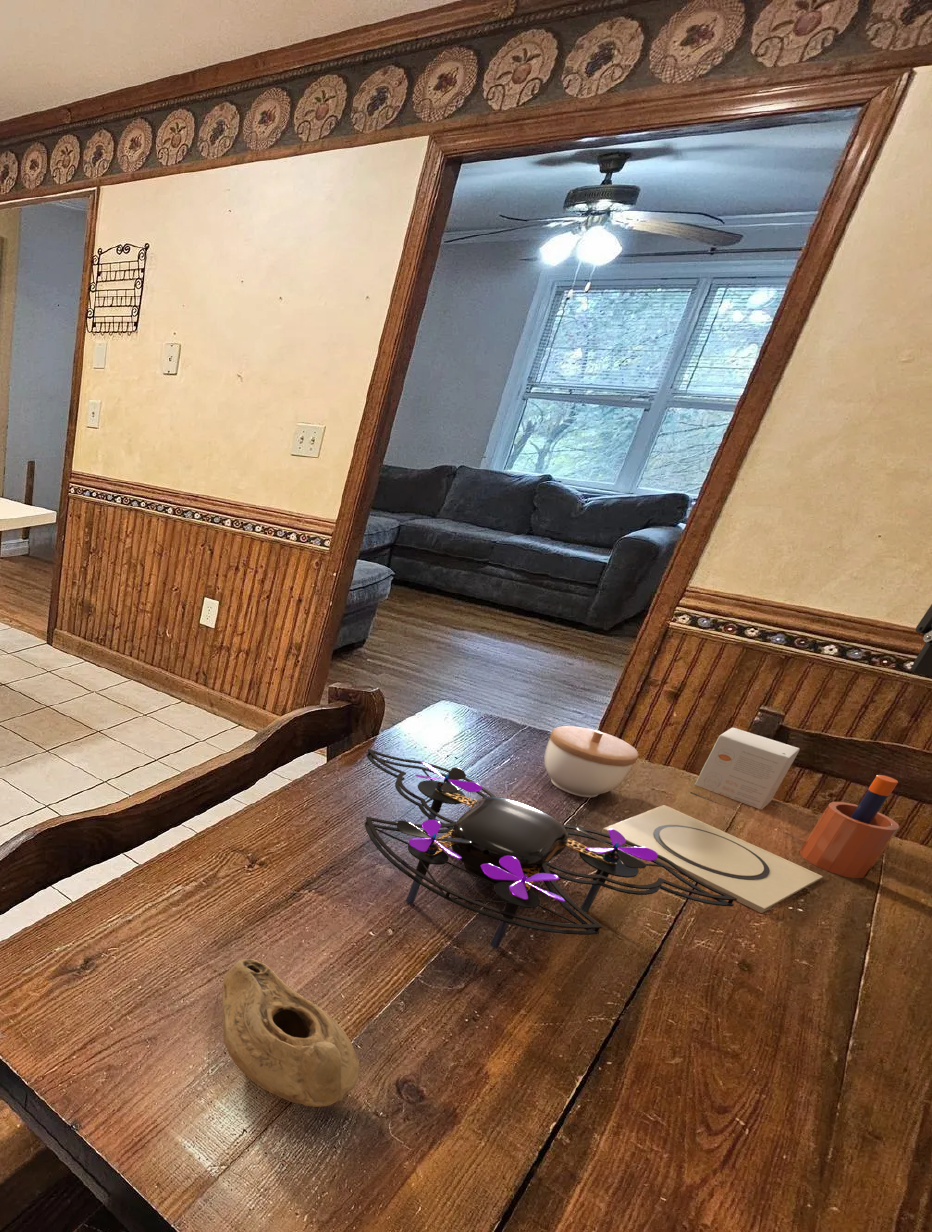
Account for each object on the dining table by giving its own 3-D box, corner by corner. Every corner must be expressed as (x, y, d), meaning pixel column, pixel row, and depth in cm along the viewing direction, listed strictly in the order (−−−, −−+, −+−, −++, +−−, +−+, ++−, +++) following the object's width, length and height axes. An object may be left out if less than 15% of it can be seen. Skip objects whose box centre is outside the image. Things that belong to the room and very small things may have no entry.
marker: (826, 857, 105) (880, 773, 99) (844, 865, 103) (901, 780, 98) (820, 860, 104) (874, 776, 98) (838, 868, 103) (894, 783, 97)
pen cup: (810, 847, 108) (841, 797, 104) (872, 874, 103) (907, 823, 99) (789, 857, 105) (820, 807, 102) (852, 886, 100) (887, 834, 97)
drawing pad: (661, 809, 115) (664, 803, 114) (820, 881, 101) (824, 875, 100) (600, 832, 108) (603, 826, 108) (761, 913, 94) (765, 907, 93)
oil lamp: (260, 983, 79) (277, 921, 75) (380, 1107, 67) (407, 1041, 63) (170, 1013, 75) (184, 949, 71) (280, 1151, 63) (304, 1082, 59)
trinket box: (581, 769, 125) (605, 717, 120) (635, 806, 115) (663, 751, 111) (517, 768, 124) (539, 715, 120) (566, 805, 114) (591, 749, 110)
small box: (766, 810, 116) (802, 748, 112) (754, 821, 113) (791, 757, 109) (700, 785, 122) (732, 725, 117) (687, 795, 119) (719, 734, 114)
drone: (750, 873, 84) (698, 995, 67) (709, 942, 89) (649, 1073, 72) (382, 731, 111) (278, 793, 94) (364, 789, 115) (261, 858, 98)
